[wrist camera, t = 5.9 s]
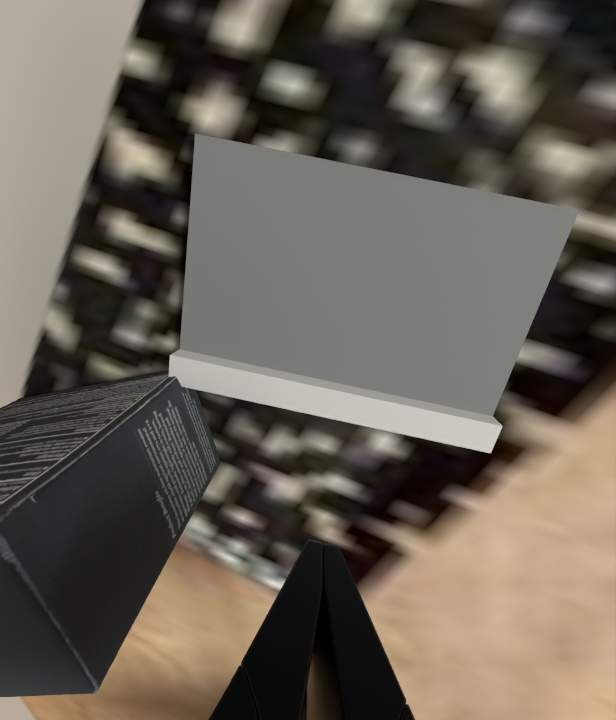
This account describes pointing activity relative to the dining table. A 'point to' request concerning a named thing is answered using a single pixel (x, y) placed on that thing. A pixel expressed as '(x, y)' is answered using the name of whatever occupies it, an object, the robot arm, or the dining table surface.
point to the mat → (359, 291)
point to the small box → (90, 521)
